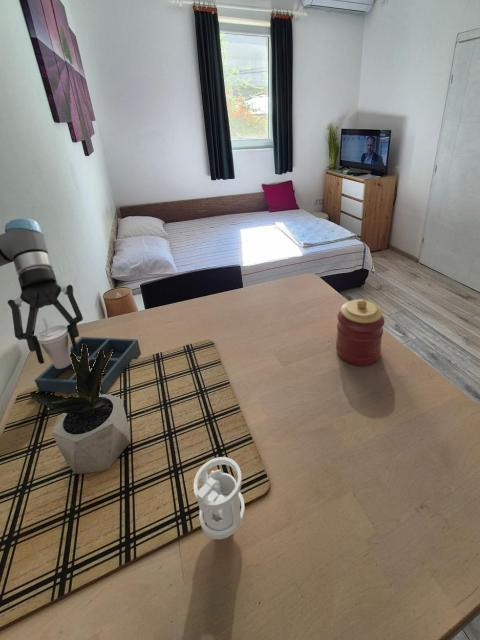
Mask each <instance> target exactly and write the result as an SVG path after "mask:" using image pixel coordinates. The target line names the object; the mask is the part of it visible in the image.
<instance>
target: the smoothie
mask: <svg viewBox="0 0 480 640" xmlns="http://www.w3.org/2000/svg"><path fill="white" fill-rule="evenodd" d="M42 321H43V323H44V326H45V329H43V330H42V331H39V333H38V334H37V335H36V336H37V340H38V343H39V344H40V346H42V348H43V349H44V351H45V353H46V355H47V357H49V360H50V361H51V363H52V364H54V366H55V368H57V369H61V368H65V367H67V366H68V365H70V364H71V358H70V354H71V352H70V347H71V345H70V339H69V332H68V328H67V325H62V324H60V325H54V326H49V324H48V320H47V318H46V317H42ZM65 369H66V368H65Z"/></svg>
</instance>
